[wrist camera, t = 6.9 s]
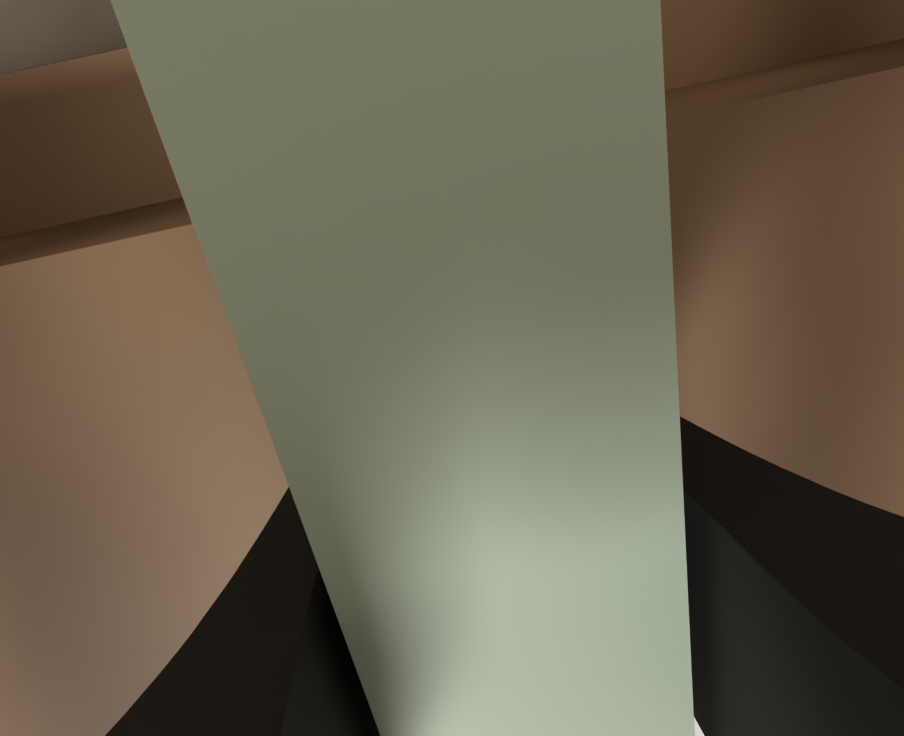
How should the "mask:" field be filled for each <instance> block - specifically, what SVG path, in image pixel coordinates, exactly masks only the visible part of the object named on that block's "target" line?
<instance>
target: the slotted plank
mask: <svg viewBox="0 0 904 736" xmlns="http://www.w3.org/2000/svg"><path fill="white" fill-rule="evenodd" d="M660 2H661V24H662V45H663V67H664V88H665V110H666V131H667V153H668V174H669V196H670V217H671V239H672V260H673V282H674V303H675V325H676V346H677V368H678V389H679V411H680V416H681V417H682V418H684V419H686V420H688V421H690V422H692V423H694V424H695V425H697V426H699V427H701V428H703V429H705V430H707V431H709V432H710V433H712V434H714V435H716V436H718V437H720V438H722V439H724V440H726V441H728V442H730V443H732V444H734V445H736V446H738V447H740V448H742V449H744V450H746V451H748V452H750V453H752V454H754V455H756V456H758V457H760V458H762V459H764V460H767V461H769V462H771V463H773V464H775V465H777V466H779V467H781V468H784V469H786V470H788V471H791V472H793V473H795V474H797V475H800V476H802V477H804V478H806V479H809V480H811V481H813V482H816V483H818V484H820V485H822V486H825V487H827V488H829V489H832V490H834V491H836V492H839V493H841V494H844V495H846V496H849V497H851V498H854V499H856V500H859V501H861V502H864V503H866V504H869V505H872V506H875V507H878V508H880V509H883V510H886V511H889V512H891V513H894V514H897V515H900V516H903V517H904V0H660ZM288 487H289V485H288V483H287V480H286V477H285V475H284V472H283V469H282V466H281V464H280V461H279V458H278V456H277V453H276V450H275V447H274V445H273V442H272V439H271V436H270V434H269V431H268V428H267V426H266V423H265V420H264V417H263V415H262V412H261V409H260V407H259V404H258V401H257V398H256V396H255V393H254V390H253V388H252V385H251V382H250V379H249V377H248V374H247V371H246V369H245V366H244V363H243V360H242V358H241V355H240V352H239V349H238V347H237V344H236V341H235V339H234V336H233V333H232V330H231V328H230V325H229V322H228V320H227V317H226V314H225V311H224V309H223V306H222V303H221V301H220V298H219V295H218V292H217V290H216V287H215V284H214V281H213V279H212V276H211V273H210V271H209V268H208V265H207V262H206V260H205V257H204V254H203V252H202V249H201V246H200V243H199V241H198V238H197V235H196V233H195V230H194V227H193V224H192V222H191V219H190V216H189V213H188V211H187V208H186V205H185V203H184V200H183V197H182V194H181V192H180V189H179V186H178V184H177V181H176V178H175V175H174V173H173V170H172V167H171V165H170V162H169V159H168V156H167V154H166V151H165V148H164V145H163V143H162V140H161V137H160V135H159V132H158V129H157V126H156V124H155V121H154V118H153V116H152V113H151V110H150V107H149V105H148V102H147V99H146V97H145V94H144V91H143V88H142V86H141V83H140V80H139V78H138V75H137V72H136V69H135V67H134V64H133V61H132V58H131V56H130V53H129V50H128V48H123V49H118V50H114V51H109V52H104V53H100V54H95V55H90V56H86V57H81V58H76V59H72V60H67V61H62V62H57V63H53V64H48V65H43V66H39V67H34V68H29V69H25V70H20V71H15V72H11V73H6V74H1V75H0V736H105V735H106V734H107V733H108V732H109V731H110V730H111V729H112V727H113V726H114V725H115V724H116V723H117V722H118V721H119V720H120V719H121V718H122V716H123V715H124V714H125V713H126V712H127V711H128V710H129V708H130V707H131V706H132V705H133V704H134V703H135V701H136V700H137V699H138V698H139V697H140V696H141V694H142V693H143V692H144V691H145V690H146V689H147V688H148V686H149V685H150V684H151V683H152V682H153V681H154V679H155V678H156V677H157V676H158V675H159V674H160V672H161V671H162V670H163V669H164V667H165V666H166V665H167V664H168V663H169V661H170V660H171V659H172V658H173V656H174V655H175V654H176V653H177V651H178V650H179V649H180V648H181V646H182V645H183V644H184V643H185V641H186V640H187V639H188V637H189V636H190V635H191V634H192V632H193V631H194V629H195V628H196V627H197V625H198V624H199V622H200V621H201V620H202V618H203V617H204V616H205V614H206V613H207V611H208V610H209V609H210V607H211V606H212V604H213V603H214V602H215V600H216V599H217V598H218V596H219V595H220V593H221V592H222V591H223V589H224V588H225V586H226V585H227V584H228V582H229V581H230V579H231V578H232V576H233V575H234V573H235V572H236V570H237V569H238V567H239V565H240V564H241V562H242V561H243V559H244V558H245V556H246V555H247V553H248V552H249V550H250V548H251V547H252V545H253V544H254V542H255V541H256V539H257V538H258V536H259V535H260V533H261V531H262V530H263V528H264V527H265V525H266V523H267V522H268V520H269V518H270V517H271V515H272V513H273V512H274V510H275V509H276V507H277V505H278V504H279V502H280V500H281V499H282V497H283V495H284V494H285V492H286V490H287V489H288Z"/></svg>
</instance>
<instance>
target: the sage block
mask: <svg viewBox="0 0 904 736" xmlns="http://www.w3.org/2000/svg"><path fill="white" fill-rule="evenodd" d="M110 1H111V4H112V7H113V10H114V12H115V15H116V18H117V20H118V23H119V26H120V29H121V31H122V34H123V37H124V39H125V42H126V45H127V48H128V50H129V53H130V56H131V58H132V61H133V64H134V67H135V69H136V72H137V75H138V78H139V80H140V83H141V86H142V88H143V91H144V94H145V97H146V99H147V102H148V105H149V107H150V110H151V113H152V116H153V118H154V121H155V124H156V126H157V129H158V132H159V135H160V137H161V140H162V143H163V145H164V148H165V151H166V154H167V156H168V159H169V162H170V165H171V167H172V170H173V173H174V175H175V178H176V181H177V184H178V186H179V189H180V192H181V194H182V197H183V200H184V203H185V205H186V208H187V211H188V213H189V216H190V219H191V222H192V224H193V227H194V230H195V233H196V235H197V238H198V241H199V243H200V246H201V249H202V252H203V254H204V257H205V260H206V262H207V265H208V268H209V271H210V273H211V276H212V279H213V281H214V284H215V287H216V290H217V292H218V295H219V298H220V301H221V303H222V306H223V309H224V311H225V314H226V317H227V320H228V322H229V325H230V328H231V330H232V333H233V336H234V339H235V341H236V344H237V347H238V349H239V352H240V355H241V358H242V360H243V363H244V366H245V369H246V371H247V374H248V377H249V379H250V382H251V385H252V388H253V390H254V393H255V396H256V398H257V401H258V404H259V407H260V409H261V412H262V415H263V417H264V420H265V423H266V426H267V428H268V431H269V434H270V436H271V439H272V442H273V445H274V447H275V450H276V453H277V456H278V458H279V461H280V464H281V466H282V469H283V472H284V475H285V477H286V480H287V483H288V485H289V488H290V491H291V494H292V496H293V499H294V502H295V504H296V507H297V510H298V513H299V515H300V518H301V521H302V524H303V526H304V529H305V532H306V534H307V537H308V540H309V543H310V545H311V548H312V551H313V553H314V556H315V559H316V562H317V564H318V567H319V570H320V572H321V575H322V578H323V581H324V583H325V586H326V589H327V592H328V594H329V597H330V600H331V602H332V605H333V608H334V611H335V613H336V616H337V619H338V621H339V624H340V627H341V630H342V632H343V635H344V638H345V640H346V643H347V646H348V649H349V651H350V654H351V657H352V660H353V662H354V665H355V668H356V670H357V673H358V676H359V679H360V681H361V684H362V687H363V689H364V692H365V695H366V698H367V700H368V703H369V706H370V708H371V711H372V714H373V717H374V719H375V722H376V725H377V727H378V730H379V733H380V736H695V733H694V711H693V690H692V668H691V647H690V625H689V604H688V582H687V561H686V539H685V518H684V496H683V475H682V453H681V432H680V411H679V389H678V368H677V346H676V325H675V303H674V282H673V260H672V239H671V217H670V196H669V174H668V153H667V131H666V110H665V88H664V67H663V45H662V24H661V2H660V0H110Z"/></svg>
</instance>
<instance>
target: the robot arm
mask: <svg viewBox="0 0 904 736" xmlns="http://www.w3.org/2000/svg"><path fill="white" fill-rule="evenodd" d="M680 432H681V453H682V475H683V496H684V518H685V539H686V561H687V582H688V604H689V625H690V647H691V668H692V690H693V711H694V717H695V719H696V721H697V722H698V724H699V726H700V728H701V730H702V731H703V733H704V735H705V736H904V517H903V516H900V515H897V514H894V513H891V512H889V511H886V510H883V509H880V508H878V507H875V506H872V505H869V504H866V503H864V502H861V501H859V500H856V499H854V498H851V497H849V496H846V495H844V494H841V493H839V492H836V491H834V490H832V489H829V488H827V487H825V486H822V485H820V484H818V483H816V482H813V481H811V480H809V479H806V478H804V477H802V476H800V475H797V474H795V473H793V472H791V471H788V470H786V469H784V468H781V467H779V466H777V465H775V464H773V463H771V462H769V461H767V460H764V459H762V458H760V457H758V456H756V455H754V454H752V453H750V452H748V451H746V450H744V449H742V448H740V447H738V446H736V445H734V444H732V443H730V442H728V441H726V440H724V439H722V438H720V437H718V436H716V435H714V434H712V433H710V432H709V431H707V430H705V429H703V428H701V427H699V426H697V425H695V424H694V423H692V422H690V421H688V420H686V419H684V418H682V417H681V416H680ZM105 736H380V733H379V730H378V727H377V725H376V722H375V719H374V717H373V714H372V711H371V708H370V706H369V703H368V700H367V698H366V695H365V692H364V689H363V687H362V684H361V681H360V679H359V676H358V673H357V670H356V668H355V665H354V662H353V660H352V657H351V654H350V651H349V649H348V646H347V643H346V640H345V638H344V635H343V632H342V630H341V627H340V624H339V621H338V619H337V616H336V613H335V611H334V608H333V605H332V602H331V600H330V597H329V594H328V592H327V589H326V586H325V583H324V581H323V578H322V575H321V572H320V570H319V567H318V564H317V562H316V559H315V556H314V553H313V551H312V548H311V545H310V543H309V540H308V537H307V534H306V532H305V529H304V526H303V524H302V521H301V518H300V515H299V513H298V510H297V507H296V504H295V502H294V499H293V496H292V494H291V491H290V488H289V487H288V489H287V490H286V492H285V494H284V495H283V497H282V499H281V500H280V502H279V504H278V505H277V507H276V509H275V510H274V512H273V513H272V515H271V517H270V518H269V520H268V522H267V523H266V525H265V527H264V528H263V530H262V531H261V533H260V535H259V536H258V538H257V539H256V541H255V542H254V544H253V545H252V547H251V548H250V550H249V552H248V553H247V555H246V556H245V558H244V559H243V561H242V562H241V564H240V565H239V567H238V569H237V570H236V572H235V573H234V575H233V576H232V578H231V579H230V581H229V582H228V584H227V585H226V586H225V588H224V589H223V591H222V592H221V593H220V595H219V596H218V598H217V599H216V600H215V602H214V603H213V604H212V606H211V607H210V609H209V610H208V611H207V613H206V614H205V616H204V617H203V618H202V620H201V621H200V622H199V624H198V625H197V627H196V628H195V629H194V631H193V632H192V634H191V635H190V636H189V637H188V639H187V640H186V641H185V643H184V644H183V645H182V646H181V648H180V649H179V650H178V651H177V653H176V654H175V655H174V656H173V658H172V659H171V660H170V661H169V663H168V664H167V665H166V666H165V667H164V669H163V670H162V671H161V672H160V674H159V675H158V676H157V677H156V678H155V679H154V681H153V682H152V683H151V684H150V685H149V686H148V688H147V689H146V690H145V691H144V692H143V693H142V694H141V696H140V697H139V698H138V699H137V700H136V701H135V703H134V704H133V705H132V706H131V707H130V708H129V710H128V711H127V712H126V713H125V714H124V715H123V716H122V718H121V719H120V720H119V721H118V722H117V723H116V724H115V725H114V726H113V727H112V729H111V730H110V731H109V732H108V733H107V734H106V735H105Z"/></svg>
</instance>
